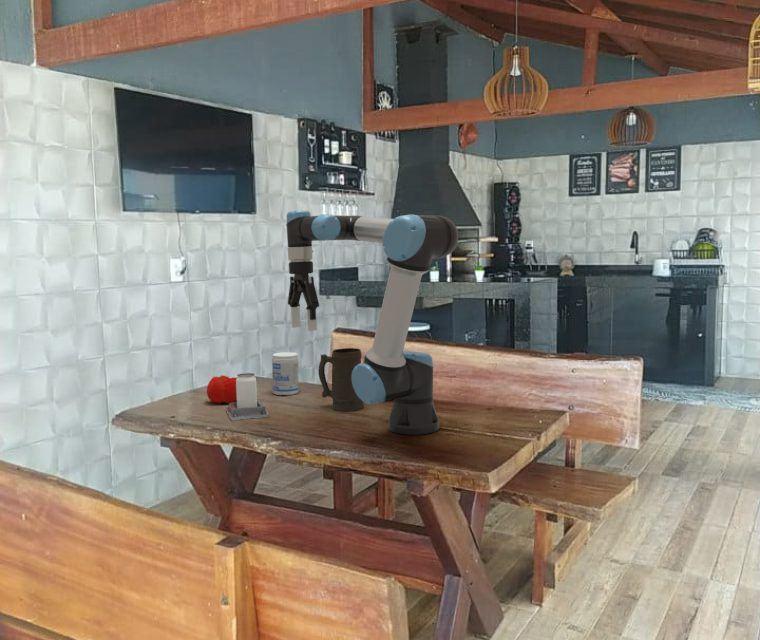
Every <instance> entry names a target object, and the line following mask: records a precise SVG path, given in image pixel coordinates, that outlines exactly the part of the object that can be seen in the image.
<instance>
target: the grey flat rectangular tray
mask: <svg viewBox="0 0 760 640" xmlns="http://www.w3.org/2000/svg"><path fill="white" fill-rule="evenodd" d="M225 411H227V412H226V413H227V416H228V418H229V419H230V421H231V420H233V421H241V420H240V419H243V420H251V419H250V418H254V419H263V417H265V418H269V417H270V414H269V413H270V412H268V411H267V408H266V406H265V404H264V403H263V401H261V400H260V399H257V407H249V408H238V409H237V401H234V402H232V403H229V404H228V407H226V408H225Z"/></svg>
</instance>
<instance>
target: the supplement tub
mask: <svg viewBox="0 0 760 640" xmlns="http://www.w3.org/2000/svg"><path fill="white" fill-rule="evenodd" d="M271 359H272V360H271V364H272V365H271V367H272V369H271V371H272V374H271V375H272V376H271V377H272V378H271V379H272V385H271V386H272V394H274V395H276V396H281V395H286V396H293V395H296V394H298V393H299V390H300V389H299V385H300V384H299V355H298V352H292V351H291V352H290V351H289V352H288V351H286V352H284V351H282V352H276V353H273V354H272V358H271Z"/></svg>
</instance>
